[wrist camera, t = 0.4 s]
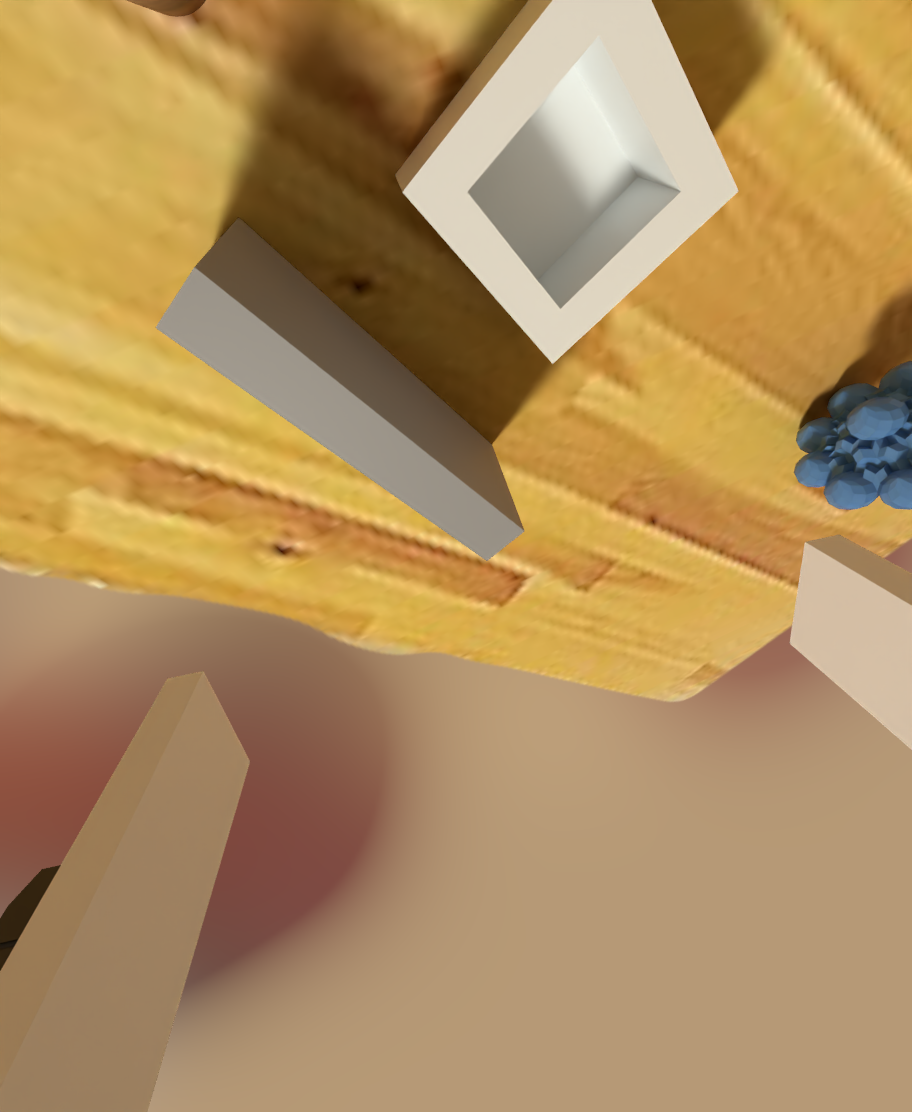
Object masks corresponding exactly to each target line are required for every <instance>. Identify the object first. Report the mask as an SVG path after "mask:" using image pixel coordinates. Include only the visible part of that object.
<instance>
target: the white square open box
mask: <svg viewBox="0 0 912 1112" xmlns="http://www.w3.org/2000/svg"><path fill="white" fill-rule="evenodd" d="M395 176H396V178H397V181H398V183H399V186H400V188H401V190H402V192H403V194H404V195H405V196H406V197H407V198H408V199H409V200H410V202H411V203H412V204H413V205H414V206H415V207H416V208H417V210H418V211H419V212H420V213H421V214H422V215H423V216H424V218H425V219H426V220H427V221H428V222H429V223H430V224H431V226H432V227H433V228H434V229H435V230H436V231H437V232H438V234H439V235H440V236H441V237H442V238H443V239H444V240H445V242H446V243H447V244H448V245H449V246H450V247H451V248H452V250H453V251H454V252H455V253H456V254H457V255H458V256H459V258H460V259H461V260H462V261H463V262H464V263H465V264H466V266H467V267H468V268H469V269H470V270H471V271H472V272H473V274H474V275H475V276H476V277H477V278H478V279H479V280H480V282H481V283H482V284H483V285H484V286H485V287H486V288H487V290H488V291H489V292H490V293H491V294H492V295H493V296H494V298H495V299H496V300H497V301H498V302H499V303H500V304H501V305H502V307H503V308H504V309H505V310H506V311H507V312H508V313H509V315H510V316H511V317H512V318H513V319H514V320H515V321H516V323H517V324H518V325H519V326H520V327H521V328H522V329H523V331H524V332H525V333H526V334H527V335H528V336H529V337H530V339H531V340H532V341H533V342H534V343H535V344H536V345H537V347H538V348H539V349H540V350H541V351H542V352H543V353H544V355H545V356H546V357H547V358H548V359H549V360H550V361H551V363H552V364H553V363H554V362H555V361H556V360H557V359H559V358H560V357H561V356H562V355H563V354H564V353H565V352H566V351H567V350H568V349H569V348H570V347H571V346H573V345H574V344H575V343H576V342H577V341H578V340H579V339H580V338H581V337H582V336H583V335H584V334H585V333H586V332H588V331H589V330H590V329H591V328H592V327H593V326H594V325H595V324H596V323H597V322H598V321H599V320H600V319H602V318H603V317H604V316H605V315H606V314H607V313H608V312H609V311H610V310H611V309H612V308H613V307H614V306H616V305H617V304H618V303H619V302H620V301H621V300H622V299H623V298H624V297H625V296H626V295H627V294H628V293H630V292H631V291H632V290H633V289H634V288H635V287H636V286H637V285H638V284H639V283H640V282H641V281H642V280H644V279H645V278H646V277H647V276H648V275H649V274H650V273H651V272H652V271H653V270H654V269H655V268H656V267H658V266H659V265H660V264H661V263H662V262H663V261H664V260H665V259H666V258H667V257H668V256H669V255H670V254H672V253H673V252H674V251H675V250H676V249H677V248H678V247H679V246H680V245H681V244H682V243H683V242H684V241H685V240H687V239H688V238H689V237H690V236H691V235H692V234H693V233H694V232H695V231H696V230H697V229H698V228H699V227H701V226H702V225H703V224H704V223H705V222H706V221H707V220H708V219H709V218H710V217H711V216H712V215H713V214H715V213H716V212H717V211H718V210H719V209H720V208H721V207H722V206H723V205H724V204H725V203H726V202H727V201H729V200H730V199H731V198H732V197H733V196H734V195H735V194H736V193H737V192H738V189H737V187H736V184H735V182H734V180H733V178H732V176H731V173H730V171H729V169H728V167H727V165H726V162H725V160H724V158H723V156H722V154H721V152H720V149H719V147H718V145H717V143H716V141H715V138H714V136H713V134H712V132H711V130H710V127H709V125H708V123H707V121H706V119H705V117H704V114H703V112H702V110H701V108H700V106H699V103H698V101H697V99H696V97H695V95H694V92H693V90H692V88H691V86H690V84H689V82H688V79H687V77H686V75H685V73H684V71H683V68H682V66H681V64H680V62H679V60H678V57H677V55H676V53H675V51H674V49H673V46H672V44H671V42H670V40H669V38H668V36H667V33H666V31H665V29H664V27H663V25H662V22H661V20H660V18H659V16H658V14H657V11H656V9H655V7H654V5H653V3H652V1H651V0H528V1H527V3H526V4H525V5H524V7H523V8H522V9H521V11H520V12H519V13H518V15H517V16H516V17H515V18H514V20H513V21H512V22H511V24H510V25H509V26H508V28H507V29H506V30H505V32H504V33H503V34H502V36H501V37H500V38H499V39H498V41H497V42H496V43H495V45H494V46H493V47H492V49H491V50H490V51H489V53H488V54H487V55H486V56H485V58H484V59H483V60H482V62H481V63H480V64H479V66H478V67H477V68H476V70H475V71H474V72H473V73H472V75H471V76H470V77H469V79H468V80H467V81H466V83H465V84H464V85H463V87H462V88H461V89H460V90H459V92H458V93H457V94H456V96H455V97H454V98H453V100H452V101H451V102H450V104H449V105H448V106H447V107H446V109H445V110H444V111H443V113H442V114H441V115H440V117H439V118H438V119H437V121H436V122H435V123H434V124H433V126H432V127H431V128H430V130H429V131H428V132H427V134H426V135H425V136H424V138H423V139H422V140H421V141H420V143H419V144H418V145H417V147H416V148H415V149H414V151H413V152H412V153H411V155H410V156H409V157H408V158H407V160H406V161H405V162H404V164H403V165H402V166H401V168H400V169H399V170H398V172H397V173H396V174H395Z"/></svg>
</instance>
